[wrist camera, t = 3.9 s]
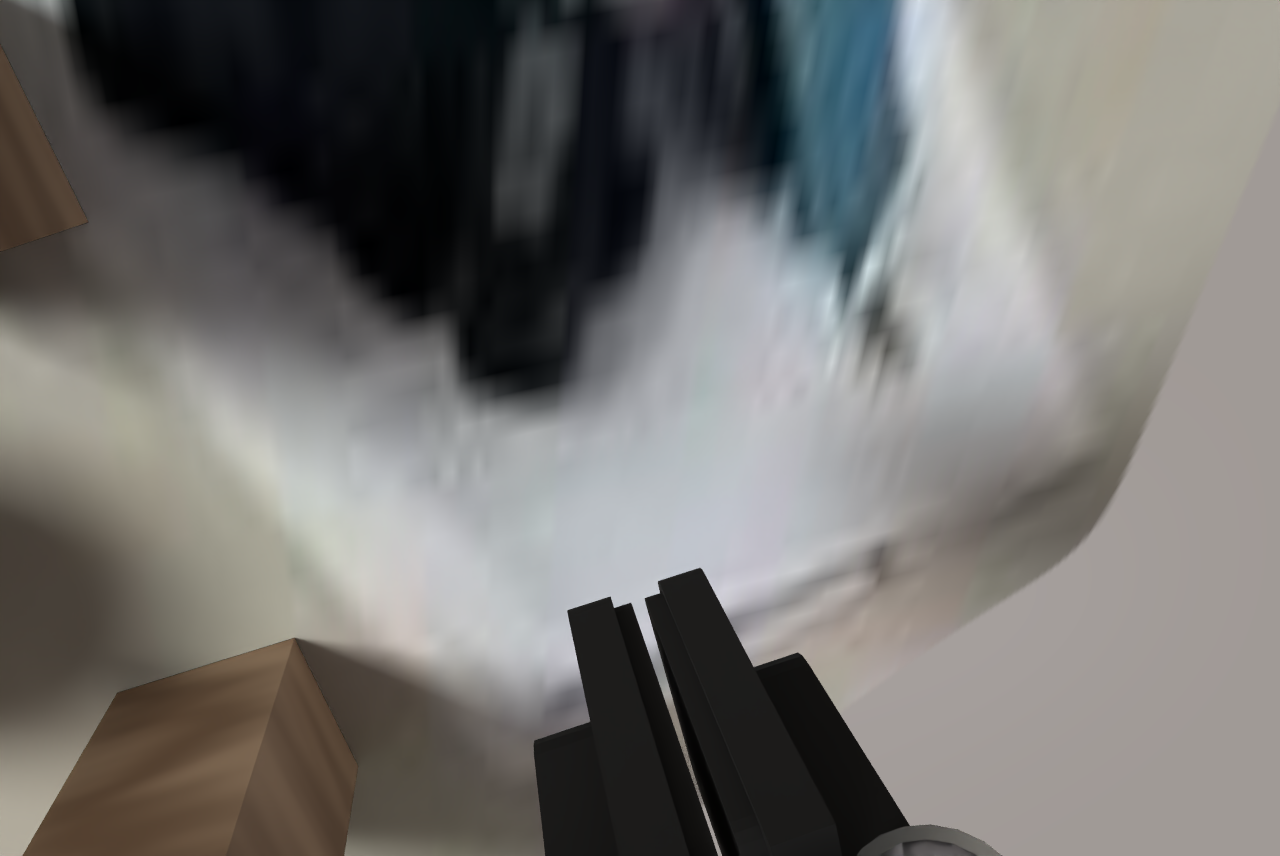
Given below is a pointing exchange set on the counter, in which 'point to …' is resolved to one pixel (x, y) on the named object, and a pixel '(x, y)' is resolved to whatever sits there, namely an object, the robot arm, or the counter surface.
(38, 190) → the post
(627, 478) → the counter surface
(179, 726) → the post
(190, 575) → the counter surface
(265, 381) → the counter surface
